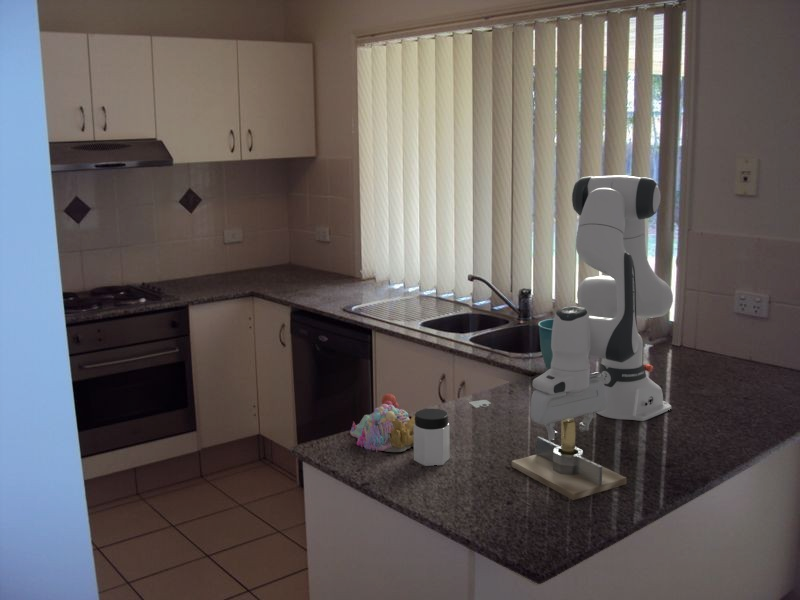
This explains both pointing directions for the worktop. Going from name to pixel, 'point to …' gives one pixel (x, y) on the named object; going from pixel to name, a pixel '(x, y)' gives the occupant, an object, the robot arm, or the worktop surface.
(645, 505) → the worktop surface
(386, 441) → the candy landscape model
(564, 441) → the pin
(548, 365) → the flower pot
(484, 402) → the mounting bracket
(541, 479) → the birch board
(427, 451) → the jar
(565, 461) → the grey metal ringed bar
